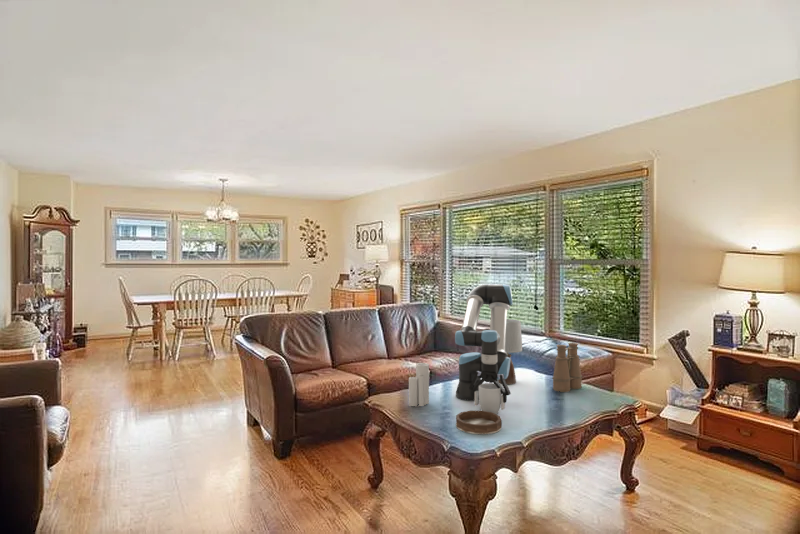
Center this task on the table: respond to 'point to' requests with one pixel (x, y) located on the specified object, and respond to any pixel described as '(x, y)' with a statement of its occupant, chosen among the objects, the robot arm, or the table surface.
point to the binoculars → (567, 369)
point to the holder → (478, 422)
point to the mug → (489, 397)
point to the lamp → (512, 345)
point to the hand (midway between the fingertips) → (489, 406)
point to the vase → (419, 386)
